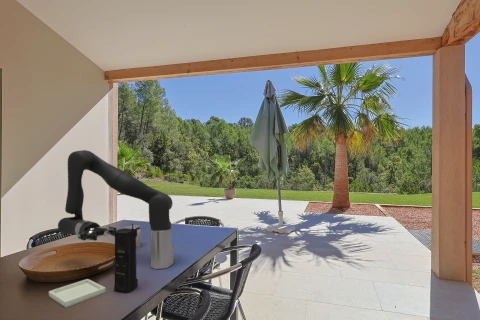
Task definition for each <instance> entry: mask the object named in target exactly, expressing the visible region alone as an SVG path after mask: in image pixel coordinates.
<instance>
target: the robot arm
mask: <svg viewBox="0 0 480 320" xmlns="http://www.w3.org/2000/svg"><path fill="white" fill-rule="evenodd" d="M86 170H87V171H90V172H92V173H94V174H95V175H97V176H100V178H101V179H102V180H103V181H104V182H105V183H106V184H107V186H109V187H110V188H112V189H113V190H114V191H117V192H119V193H121V194H122V195H124V196H127V197H131V198H134V199H139V200H141V201H142V202H145V203H147V205H148V221H149V226H150V267H151V268H152V269H155V270H163V269H168V268H170V267H171V266H172V265H174V244H173V243H172V222H171V220H170V210H171V209H172V207H173V199H172V198H171V196H170V195H169V194H166V193H165V192H161V191H160V190H157V189H155V188H153V187H151V186H148V185H147V184H145V183H144V182H143V181H141V180H139V179H138V178H136V177H135V176H133V175H131V174H130V173H127V172H126V171H124V170H122V169H120V168H118V167H116V166H115V165H112V164H111V163H110V164H109V163H108V162H106V161H105V160H104V159H102V158H100V157H99V156H98V155H97V154H95V153H94V152H92V151H90V150H86V149H85V150H84V149H83V150H82V149H81V150H75V151H72V152H71V153H70V154H69V155H68V158H67V195H66V200H65V202H66V203H65V208H64V211H65V212H66V213H67V214H70V215H74V216H69V217H64V218H61V219H60V220H59V221H58V223H57V228H58V230H59V232H61V233H62V234H66V235H67V234H68V235H76V236H77V238H78V239H79V240H82V241H86V240H88V241H94V242H95V241H98V240H97V239H98V237H99V238H100V237H107V236H113V237H115V231H116V230H118V228H117V227H114V226H110V225H108V226H107V227H102V226H101V225H100V224H99V223H98V222H95V221H92V220H85V219H84V216H83V204H84V198H85V196H84V195H85V194H84V193H85V192H84V187H83V184H82V183H83V180H82V179H83V174H84V171H86Z"/></svg>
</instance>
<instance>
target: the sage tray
mask: <svg viewBox="0 0 480 320" xmlns="http://www.w3.org/2000/svg"><path fill="white" fill-rule="evenodd" d="M106 289H107V288H106V287H105V286H103V285H101V284H99V283H97V282H96V281H95V282H94V281H93V280H91V279H89V278H86V279H83V280H80V281H77V282H74V283H70V284H67V285H64V286H61V287H57V288H55V289H52V290H49V291H48V297H49V298H50V299H52V300H53V301H55V302H56V303H58V304H59V305H61V306H63V307H64V308H68V307H71V306H73V305H76V304H79V303H82V302H84V301H87V300H90V299H93V298H95V297H99V296H100V295H103V294H106Z"/></svg>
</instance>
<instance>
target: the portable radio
mask: <svg viewBox="0 0 480 320" xmlns="http://www.w3.org/2000/svg"><path fill="white" fill-rule="evenodd" d="M133 225H134V223H131V226H132V229H126V228H124V229H120V228H119V229H116V231H115V236H114V285H113V286H114V287H113V289H114V291H115V292H121V293H127V294H128V293H131V292H132V291H134V290H136V289H137V288H138V285H139V284H138V283H139V282H138V278H137V250H136V237H137V230H136V229H134V228H133Z"/></svg>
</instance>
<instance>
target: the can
mask: <svg viewBox="0 0 480 320" xmlns="http://www.w3.org/2000/svg"><path fill="white" fill-rule="evenodd" d="M124 228H126V229H132V225H128V226H123V227H120V228H119V229H124ZM133 228H134V229H136V230H137V237H136V251H137V250H140V248H141V247H142V246H141V245H142V243H141V235H142V234H141V231H142V230H141V225H140V224H138V225H137V224H133Z"/></svg>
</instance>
